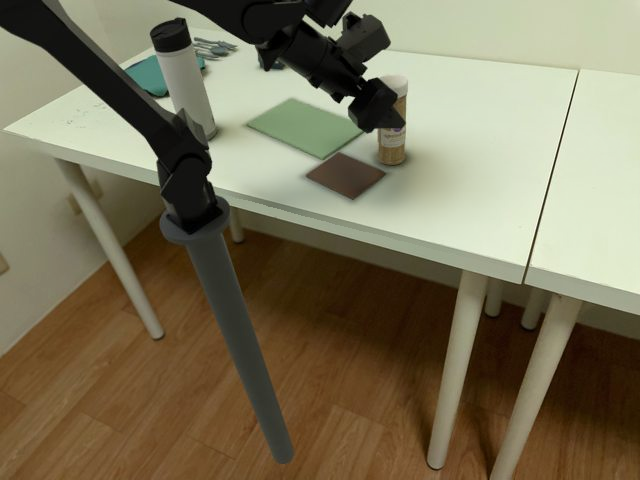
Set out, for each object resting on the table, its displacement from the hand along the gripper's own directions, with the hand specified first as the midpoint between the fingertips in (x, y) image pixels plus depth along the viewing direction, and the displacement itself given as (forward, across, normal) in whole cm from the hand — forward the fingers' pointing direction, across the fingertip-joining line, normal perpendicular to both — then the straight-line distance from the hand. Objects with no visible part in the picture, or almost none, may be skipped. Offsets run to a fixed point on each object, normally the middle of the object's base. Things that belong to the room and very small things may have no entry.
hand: (389, 111), depth 71 cm
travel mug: (-14, +24, +26) cm, 38 cm away
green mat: (-1, +16, +12) cm, 21 cm away
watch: (+1, +47, +11) cm, 48 cm away
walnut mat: (0, -1, +12) cm, 12 cm away
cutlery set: (-14, +57, +26) cm, 64 cm away
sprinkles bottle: (+6, 0, +6) cm, 9 cm away
